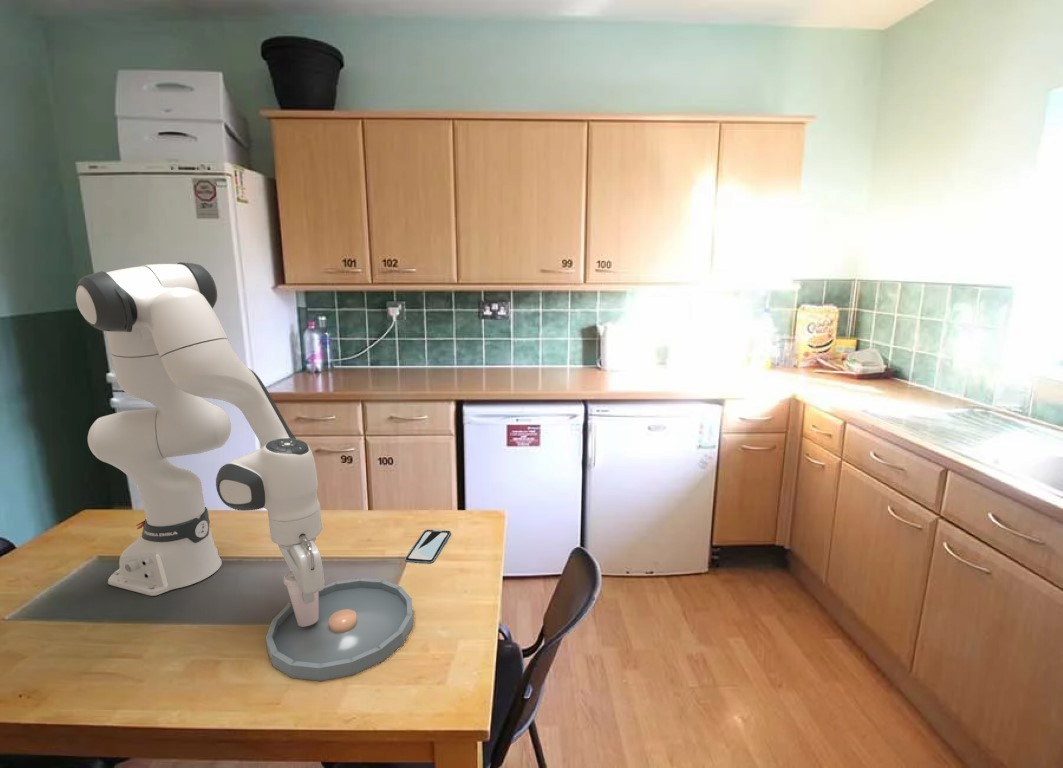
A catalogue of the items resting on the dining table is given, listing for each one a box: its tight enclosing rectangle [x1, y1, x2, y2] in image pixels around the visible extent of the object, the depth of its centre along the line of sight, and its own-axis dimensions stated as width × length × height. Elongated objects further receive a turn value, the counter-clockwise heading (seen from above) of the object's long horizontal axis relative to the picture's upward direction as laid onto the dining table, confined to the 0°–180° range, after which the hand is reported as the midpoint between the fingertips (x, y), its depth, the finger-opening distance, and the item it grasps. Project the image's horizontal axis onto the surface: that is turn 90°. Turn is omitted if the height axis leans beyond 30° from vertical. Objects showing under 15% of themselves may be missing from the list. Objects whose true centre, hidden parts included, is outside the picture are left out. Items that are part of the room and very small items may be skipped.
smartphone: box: [404, 529, 452, 565], centre depth 132 cm, size 7×1×15 cm
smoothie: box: [283, 570, 319, 627], centre depth 101 cm, size 6×6×14 cm
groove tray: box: [265, 577, 414, 682], centre depth 102 cm, size 26×26×2 cm
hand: (303, 592), depth 101 cm, fingers closed on smoothie, 6 cm apart
